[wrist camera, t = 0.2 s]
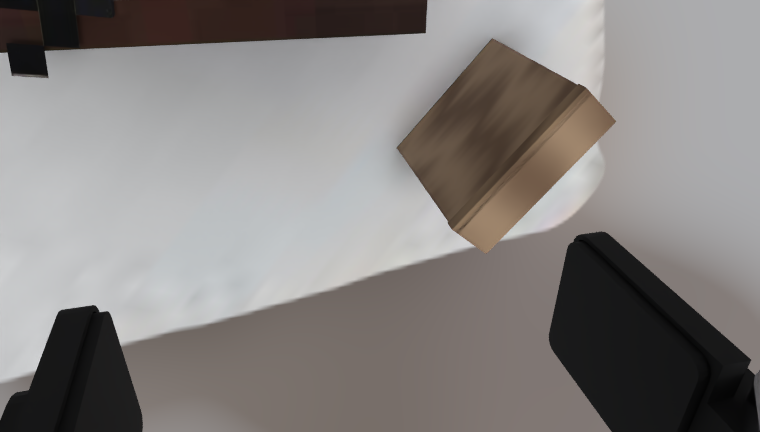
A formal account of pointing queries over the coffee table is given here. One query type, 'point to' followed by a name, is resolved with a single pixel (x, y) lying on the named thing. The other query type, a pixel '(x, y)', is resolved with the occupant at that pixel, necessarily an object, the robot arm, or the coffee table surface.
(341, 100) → the coffee table surface
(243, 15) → the decorative book
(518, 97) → the bookend
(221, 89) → the coffee table surface
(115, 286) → the coffee table surface
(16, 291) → the coffee table surface
